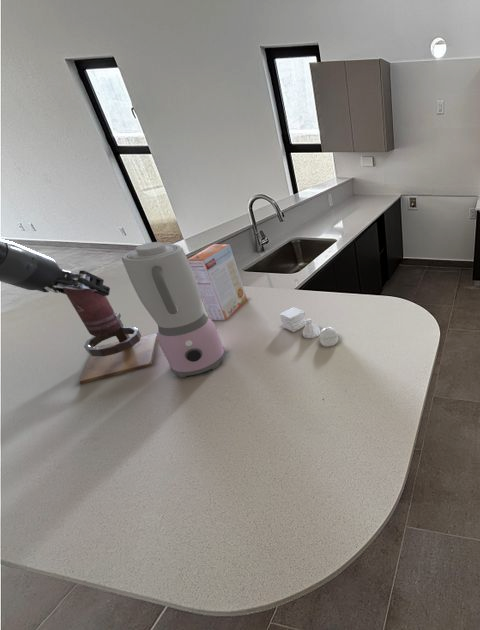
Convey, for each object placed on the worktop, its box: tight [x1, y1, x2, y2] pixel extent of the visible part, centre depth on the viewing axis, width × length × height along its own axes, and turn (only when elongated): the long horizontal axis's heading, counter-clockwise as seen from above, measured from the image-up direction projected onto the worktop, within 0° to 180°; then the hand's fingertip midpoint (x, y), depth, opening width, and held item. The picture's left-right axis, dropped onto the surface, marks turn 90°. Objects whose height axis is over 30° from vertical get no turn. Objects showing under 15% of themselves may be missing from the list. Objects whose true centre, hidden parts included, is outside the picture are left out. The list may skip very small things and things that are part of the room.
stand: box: [78, 312, 158, 385], centre depth 86 cm, size 14×16×10 cm
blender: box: [121, 241, 227, 378], centre depth 77 cm, size 16×12×32 cm
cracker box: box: [187, 243, 248, 321], centre depth 105 cm, size 14×6×21 cm, turn 178°
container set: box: [279, 306, 339, 347], centre depth 97 cm, size 20×5×6 cm, turn 57°
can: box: [63, 280, 121, 337], centre depth 80 cm, size 6×6×14 cm
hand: (92, 292), depth 80 cm, fingers closed on can, 6 cm apart
